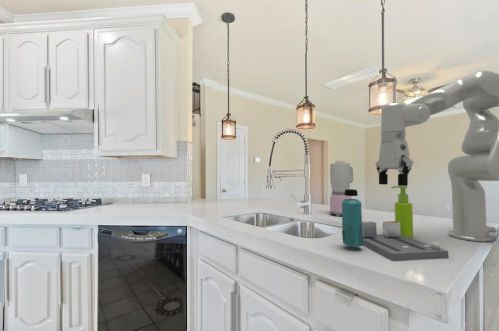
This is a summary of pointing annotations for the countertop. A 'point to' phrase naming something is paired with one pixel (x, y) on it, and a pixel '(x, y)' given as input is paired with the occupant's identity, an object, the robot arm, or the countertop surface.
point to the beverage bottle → (352, 220)
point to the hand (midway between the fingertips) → (392, 185)
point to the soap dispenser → (404, 213)
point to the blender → (339, 185)
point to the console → (404, 248)
